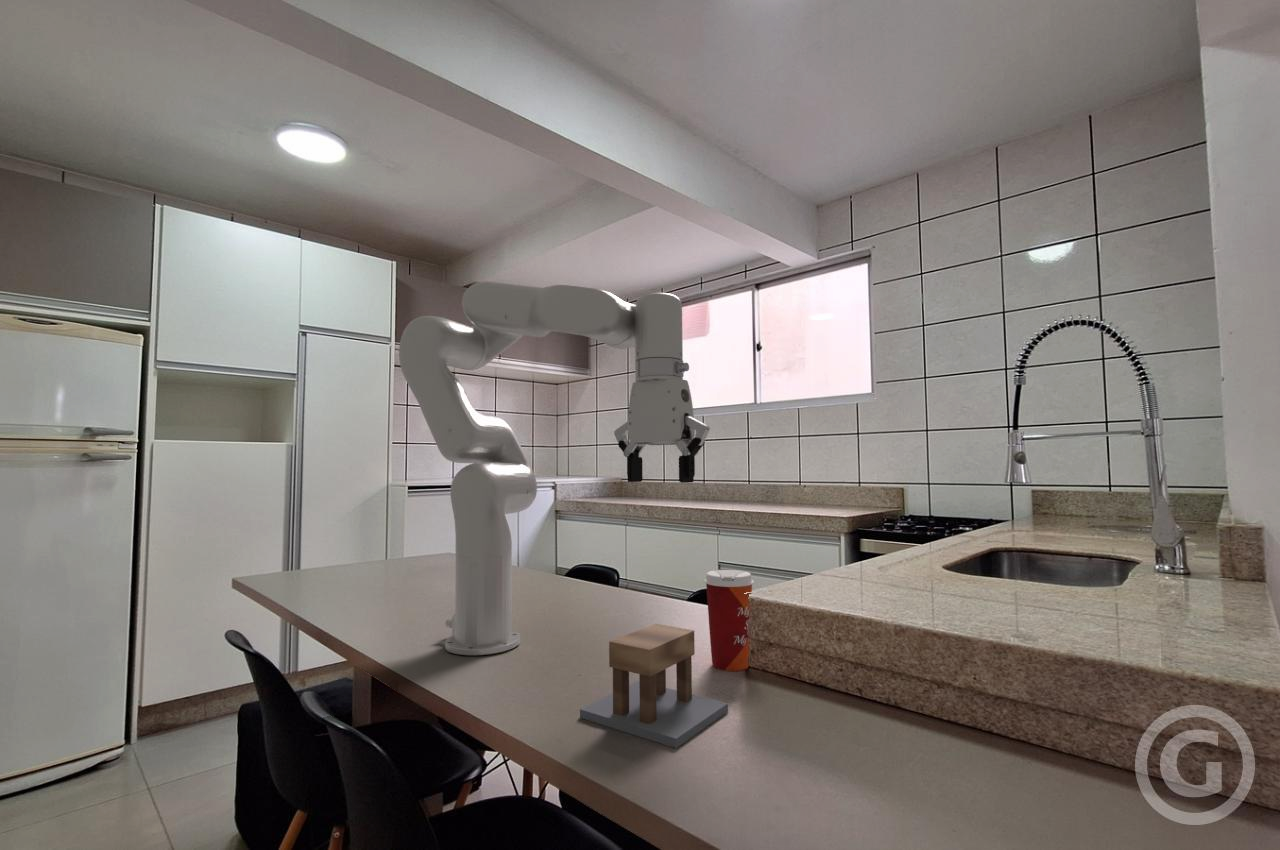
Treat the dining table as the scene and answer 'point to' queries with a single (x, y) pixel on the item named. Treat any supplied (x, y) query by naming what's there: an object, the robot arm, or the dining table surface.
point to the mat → (658, 716)
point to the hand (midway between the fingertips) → (660, 482)
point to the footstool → (651, 666)
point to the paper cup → (729, 618)
